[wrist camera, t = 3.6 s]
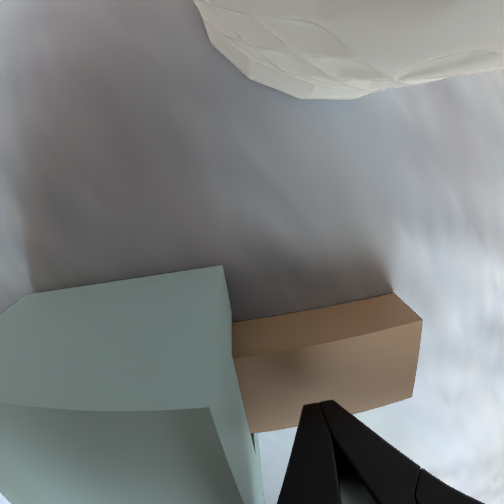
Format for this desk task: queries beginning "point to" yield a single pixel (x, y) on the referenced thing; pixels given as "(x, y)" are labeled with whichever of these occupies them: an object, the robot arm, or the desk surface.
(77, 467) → the block
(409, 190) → the desk surface
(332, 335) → the rail
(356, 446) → the robot arm
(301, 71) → the white cup
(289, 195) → the desk surface
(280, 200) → the desk surface
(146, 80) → the desk surface
